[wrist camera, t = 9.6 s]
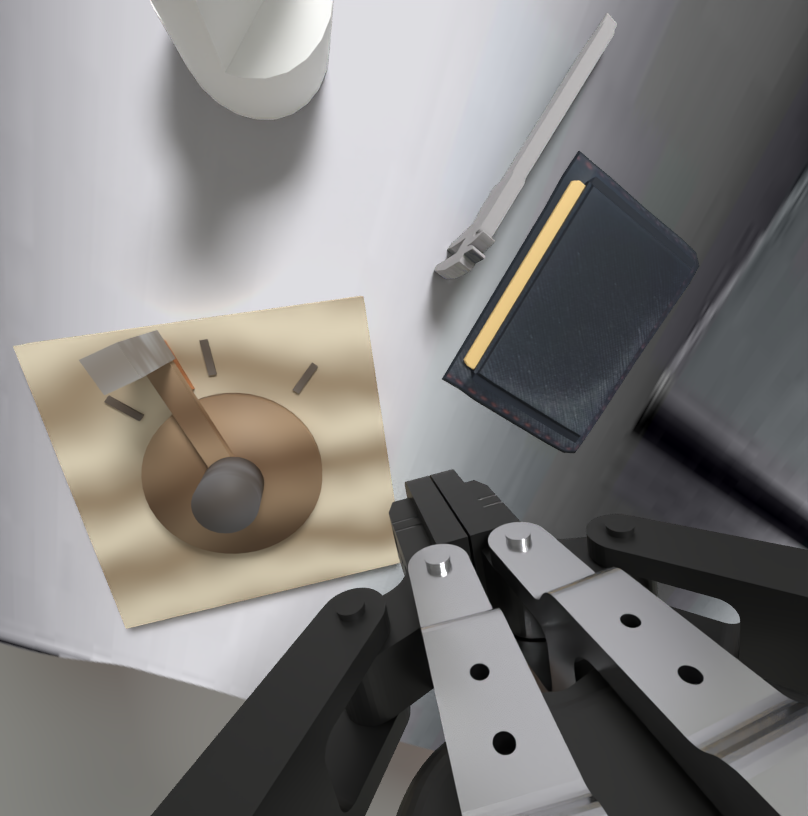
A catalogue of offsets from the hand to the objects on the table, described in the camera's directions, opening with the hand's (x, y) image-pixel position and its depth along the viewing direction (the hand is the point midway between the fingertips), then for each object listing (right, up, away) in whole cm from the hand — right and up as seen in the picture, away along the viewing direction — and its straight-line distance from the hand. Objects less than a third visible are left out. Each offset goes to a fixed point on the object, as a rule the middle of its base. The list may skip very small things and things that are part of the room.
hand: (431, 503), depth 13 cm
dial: (-14, 0, +18) cm, 23 cm away
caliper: (+7, +21, +19) cm, 29 cm away
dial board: (-13, -1, +20) cm, 24 cm away
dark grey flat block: (+13, +10, +24) cm, 29 cm away
